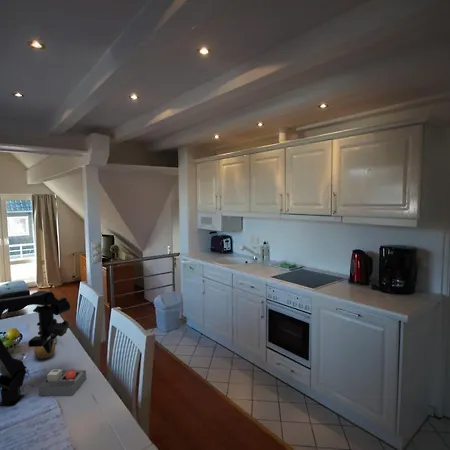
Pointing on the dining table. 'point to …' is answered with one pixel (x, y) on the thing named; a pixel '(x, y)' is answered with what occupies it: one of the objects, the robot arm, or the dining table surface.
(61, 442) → the dining table surface
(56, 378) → the on key
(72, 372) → the button
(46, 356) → the potato
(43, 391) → the grey flat box
